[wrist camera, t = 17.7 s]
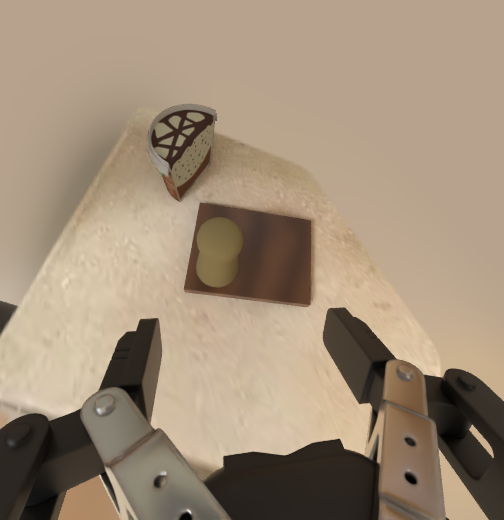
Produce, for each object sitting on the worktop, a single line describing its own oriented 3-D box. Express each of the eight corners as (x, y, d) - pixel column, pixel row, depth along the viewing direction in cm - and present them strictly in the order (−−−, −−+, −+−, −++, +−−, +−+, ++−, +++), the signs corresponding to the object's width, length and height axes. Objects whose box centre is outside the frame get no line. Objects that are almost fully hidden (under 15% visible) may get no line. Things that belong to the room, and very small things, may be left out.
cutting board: (184, 292, 39) (183, 289, 37) (200, 207, 44) (200, 202, 42) (307, 307, 41) (310, 305, 39) (308, 224, 46) (311, 220, 44)
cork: (204, 293, 38) (204, 267, 27) (189, 255, 39) (183, 217, 29) (244, 278, 39) (258, 248, 29) (228, 242, 41) (236, 201, 31)
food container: (185, 141, 48) (180, 87, 39) (215, 157, 48) (217, 108, 39) (141, 189, 43) (123, 142, 34) (174, 208, 43) (165, 166, 34)
